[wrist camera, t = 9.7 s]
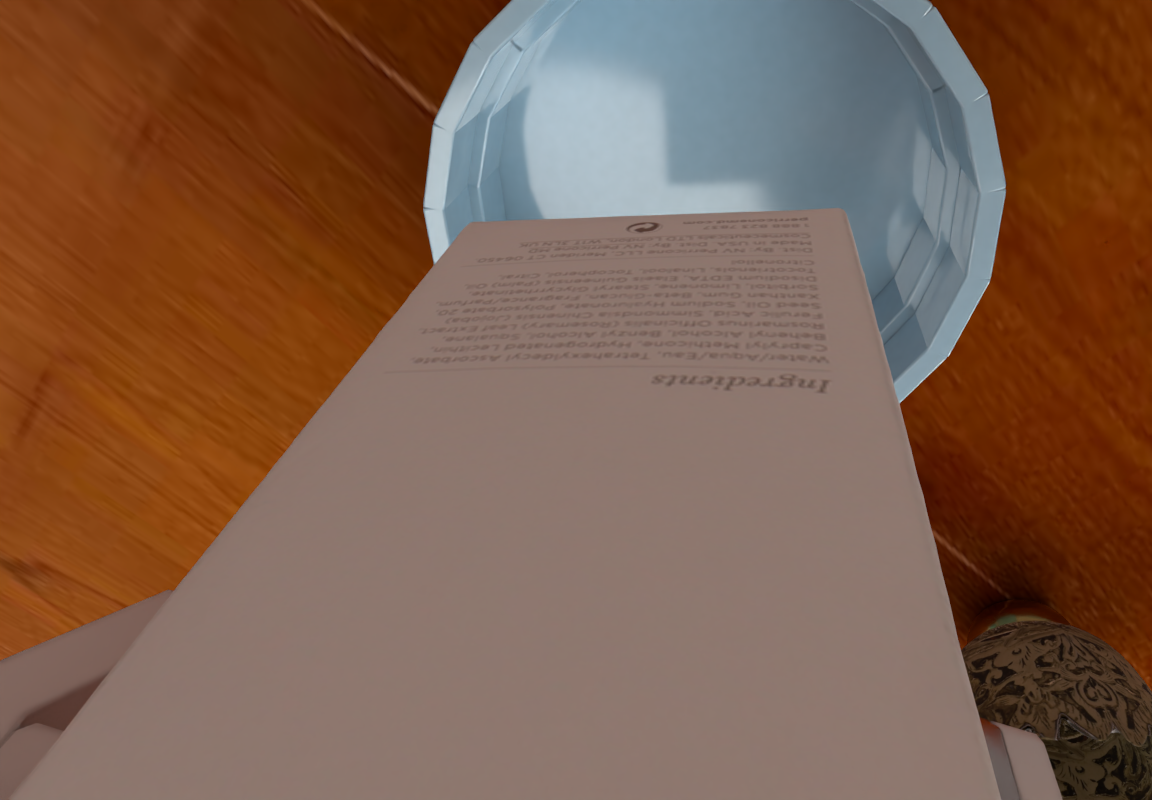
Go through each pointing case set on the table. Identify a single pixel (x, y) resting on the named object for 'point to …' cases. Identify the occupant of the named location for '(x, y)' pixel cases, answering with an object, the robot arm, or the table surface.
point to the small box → (571, 551)
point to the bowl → (739, 136)
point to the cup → (1064, 698)
